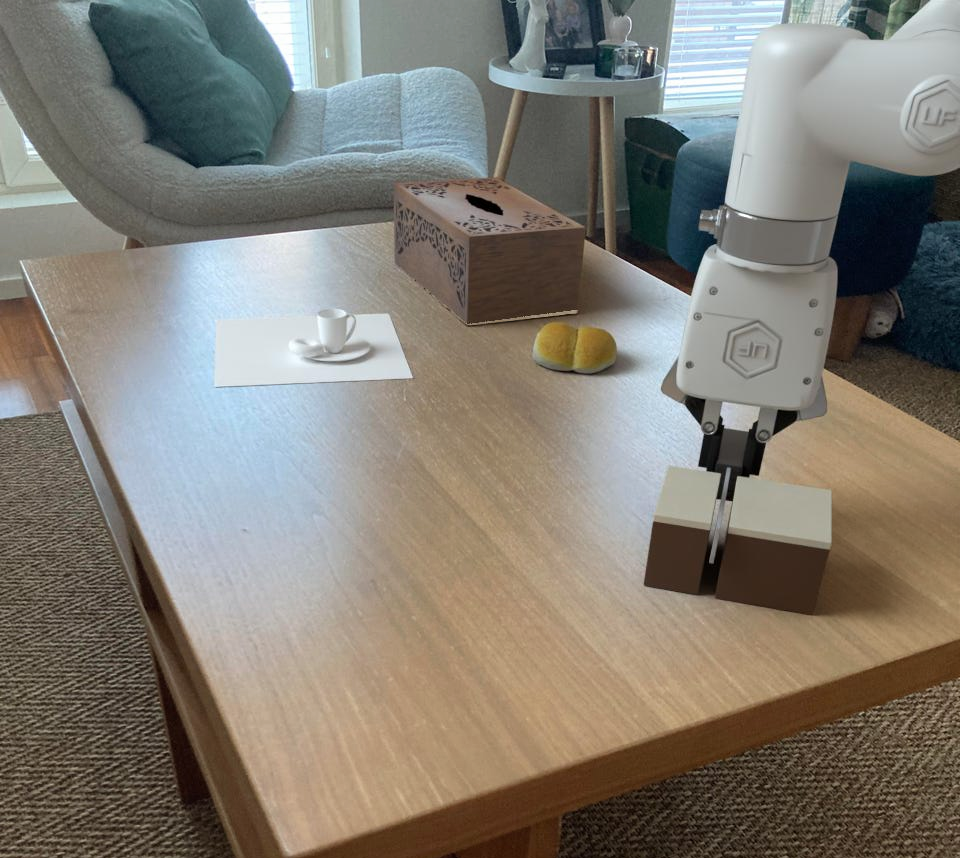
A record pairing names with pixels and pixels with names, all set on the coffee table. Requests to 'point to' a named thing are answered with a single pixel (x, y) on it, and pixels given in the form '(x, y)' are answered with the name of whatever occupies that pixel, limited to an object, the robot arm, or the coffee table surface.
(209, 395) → the coffee table surface
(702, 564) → the cake slice
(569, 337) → the bread roll
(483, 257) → the tissue box cover
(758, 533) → the cake
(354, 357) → the teacup and saucer
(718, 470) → the knife
